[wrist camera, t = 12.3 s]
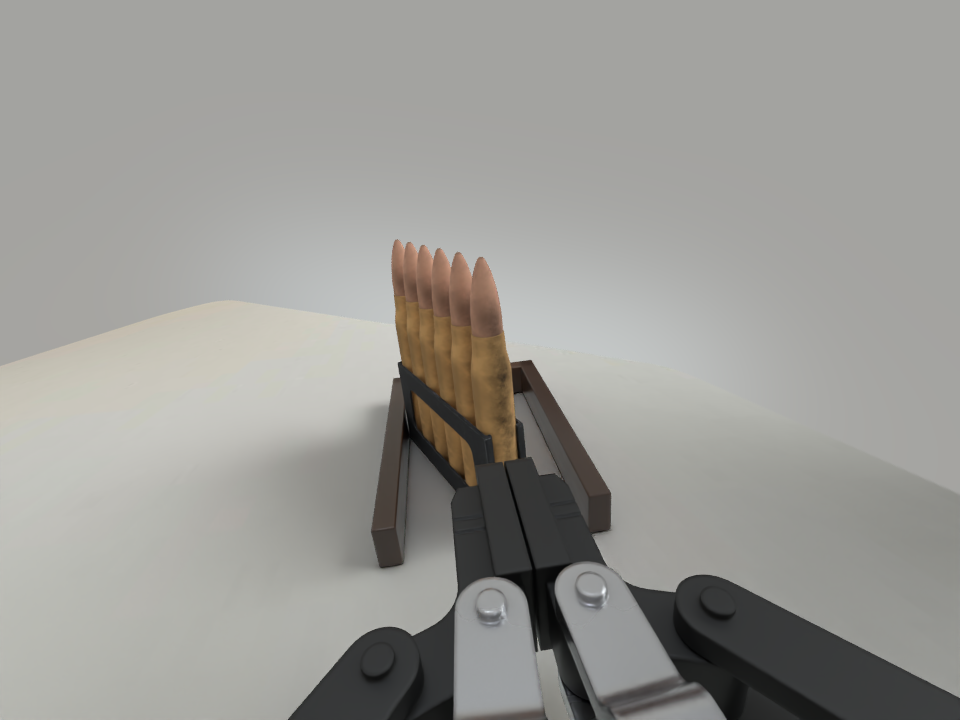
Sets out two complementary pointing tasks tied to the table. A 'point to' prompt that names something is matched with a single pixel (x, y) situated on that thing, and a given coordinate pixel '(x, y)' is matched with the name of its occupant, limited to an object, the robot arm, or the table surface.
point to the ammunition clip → (454, 363)
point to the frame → (555, 430)
